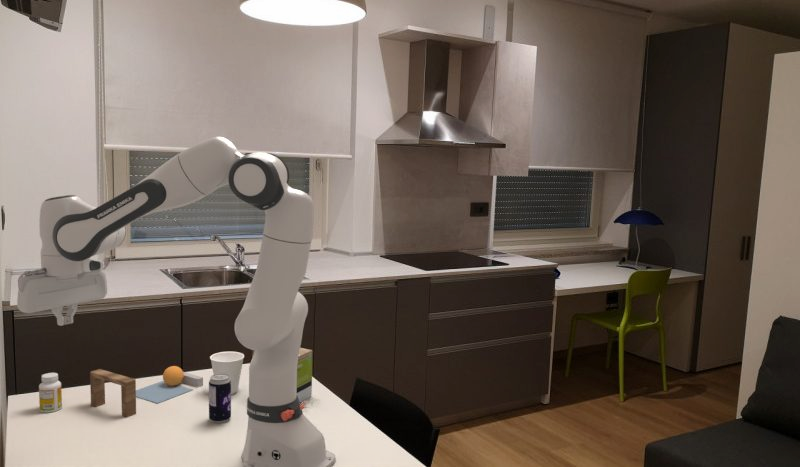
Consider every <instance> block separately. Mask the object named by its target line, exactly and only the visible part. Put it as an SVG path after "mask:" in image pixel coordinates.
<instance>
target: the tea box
mask: <svg viewBox="0 0 800 467" xmlns="http://www.w3.org/2000/svg"><path fill="white" fill-rule="evenodd" d="M254 351H255V350H252V355H251V356H252V358H253V355H254ZM312 388H313V350H312V349H309V348H308V349H307V348H304V347H300V351H299V356H298V363H297V393H296V395H297V396H298V398H299V401H300V404H301V403H302V402H304V401H306V400H308V399H309V398H311V397H312V396H313V395H312V392H313V391H312V390H313V389H312Z"/></svg>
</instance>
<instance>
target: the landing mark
mask: <svg viewBox="0 0 800 467" xmlns="http://www.w3.org/2000/svg"><path fill="white" fill-rule="evenodd" d="M191 391H194V388H189V387H186V386H184V385H183V386H182V385H180V384H178V385H176V386H169V385H167V384H166V383H165V382H164V380H161V381H159V382H156V383H153V384H151V385H150V384H149V385H148V386H145V387H142V388H139V389H136V398H138V399H142V400H144V401H146V402H147V401H148V402H151V403H154V404H160V403H163V402H167V401H168V400H171V399H173V398H175V397H178V396H181V395H184V394H186V393H189V392H191Z"/></svg>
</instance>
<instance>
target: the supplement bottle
mask: <svg viewBox="0 0 800 467" xmlns="http://www.w3.org/2000/svg"><path fill="white" fill-rule="evenodd" d="M40 380H41V383H39V385H38V393H39V395H38V398H39V411H40V412H41V413H49V414H50V413H54V412H57V411H59V410H61V409H62V408H63V400H62V399H63V397H62V396H63V395H62V394H63V393H62V391H63V390H62V382H61V381H60V380H59V374H58V373H57V372H48V373H44V374H41V379H40Z"/></svg>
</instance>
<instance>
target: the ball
mask: <svg viewBox="0 0 800 467" xmlns="http://www.w3.org/2000/svg"><path fill="white" fill-rule="evenodd" d="M183 372H184V370H183V369H182V368H181V367H179V366H178V365H171V366H168V367H167V368H166V369H164V372H163V375H162V381H164V382H165V383H166V384H167V385H169V386H176V385H180V384H181V382H182V380H183V377H184V373H183Z"/></svg>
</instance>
